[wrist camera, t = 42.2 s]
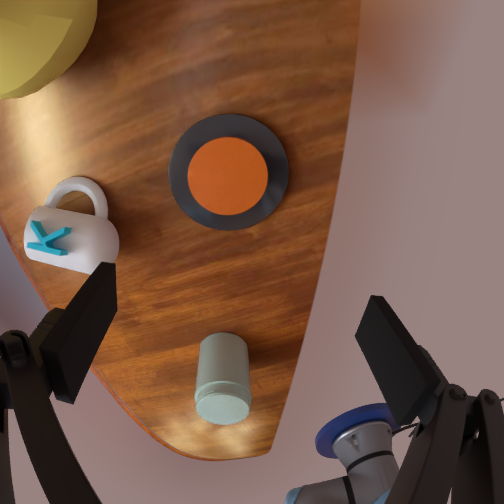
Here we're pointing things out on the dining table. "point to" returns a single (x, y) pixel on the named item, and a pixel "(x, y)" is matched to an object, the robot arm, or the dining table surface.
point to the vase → (41, 41)
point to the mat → (237, 128)
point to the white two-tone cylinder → (72, 230)
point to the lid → (227, 175)
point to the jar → (223, 379)
